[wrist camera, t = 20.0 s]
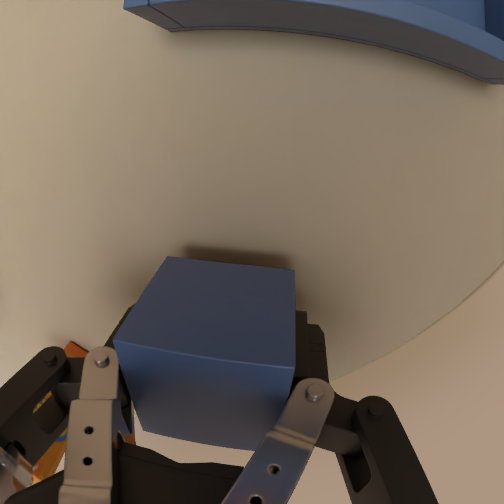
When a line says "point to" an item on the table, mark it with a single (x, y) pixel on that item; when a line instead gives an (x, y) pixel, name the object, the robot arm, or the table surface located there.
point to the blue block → (210, 351)
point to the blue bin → (359, 25)
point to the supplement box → (56, 451)
